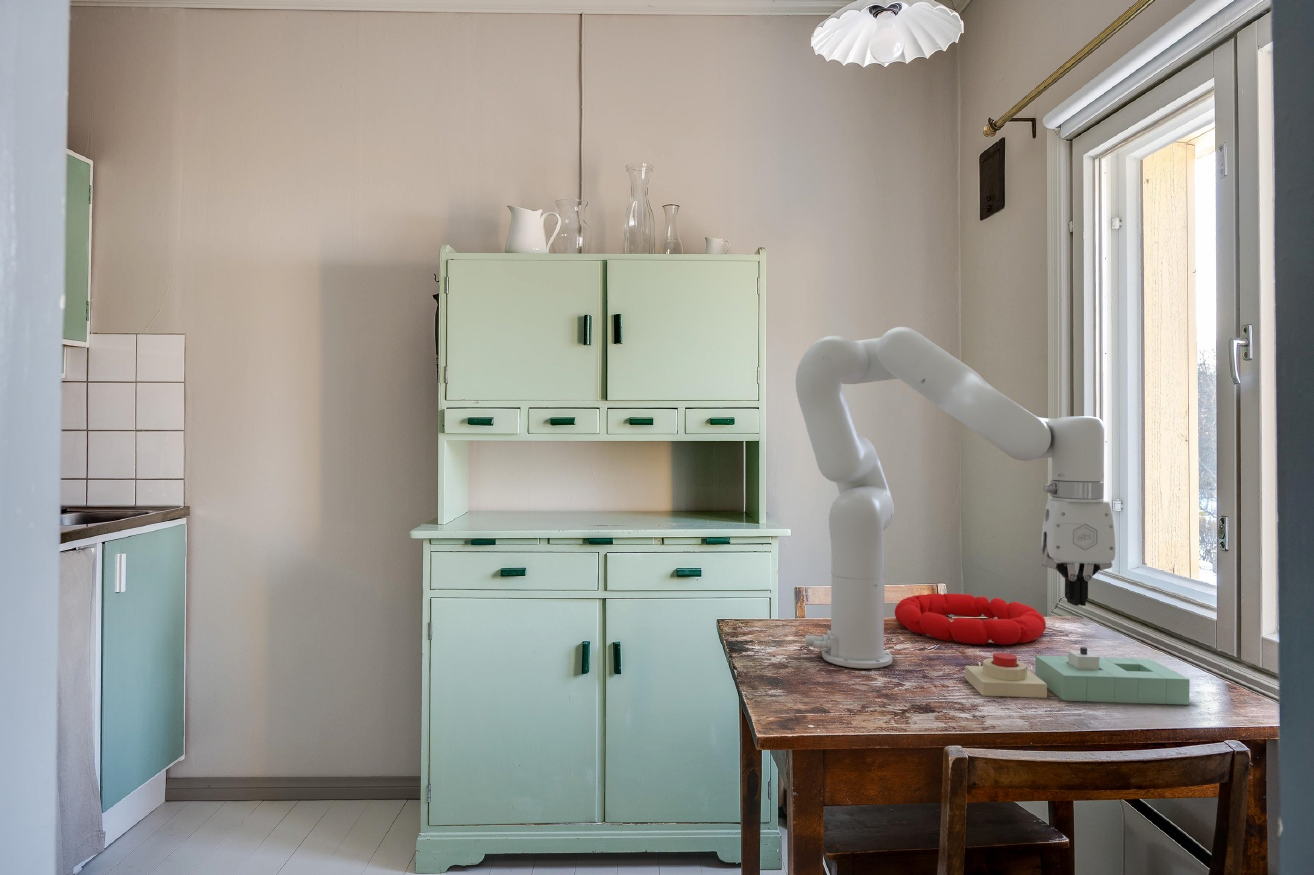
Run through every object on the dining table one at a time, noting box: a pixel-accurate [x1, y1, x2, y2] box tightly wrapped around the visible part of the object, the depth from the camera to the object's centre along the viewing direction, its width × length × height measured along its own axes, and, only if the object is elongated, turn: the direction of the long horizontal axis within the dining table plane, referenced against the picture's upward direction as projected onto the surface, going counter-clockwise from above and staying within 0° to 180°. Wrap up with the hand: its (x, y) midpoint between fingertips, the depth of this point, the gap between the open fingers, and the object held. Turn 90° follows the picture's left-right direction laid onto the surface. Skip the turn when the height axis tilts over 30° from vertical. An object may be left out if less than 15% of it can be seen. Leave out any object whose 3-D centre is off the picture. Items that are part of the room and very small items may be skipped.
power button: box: [992, 652, 1018, 667], centre depth 130 cm, size 4×4×2 cm
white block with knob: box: [1067, 646, 1100, 670], centre depth 129 cm, size 3×3×7 cm
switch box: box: [964, 657, 1048, 699], centre depth 130 cm, size 10×9×4 cm
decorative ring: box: [894, 593, 1047, 646], centre depth 170 cm, size 7×30×30 cm
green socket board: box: [1034, 655, 1191, 706], centre depth 129 cm, size 19×11×4 cm, turn 86°
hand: (1076, 603), depth 129 cm, fingers closed
